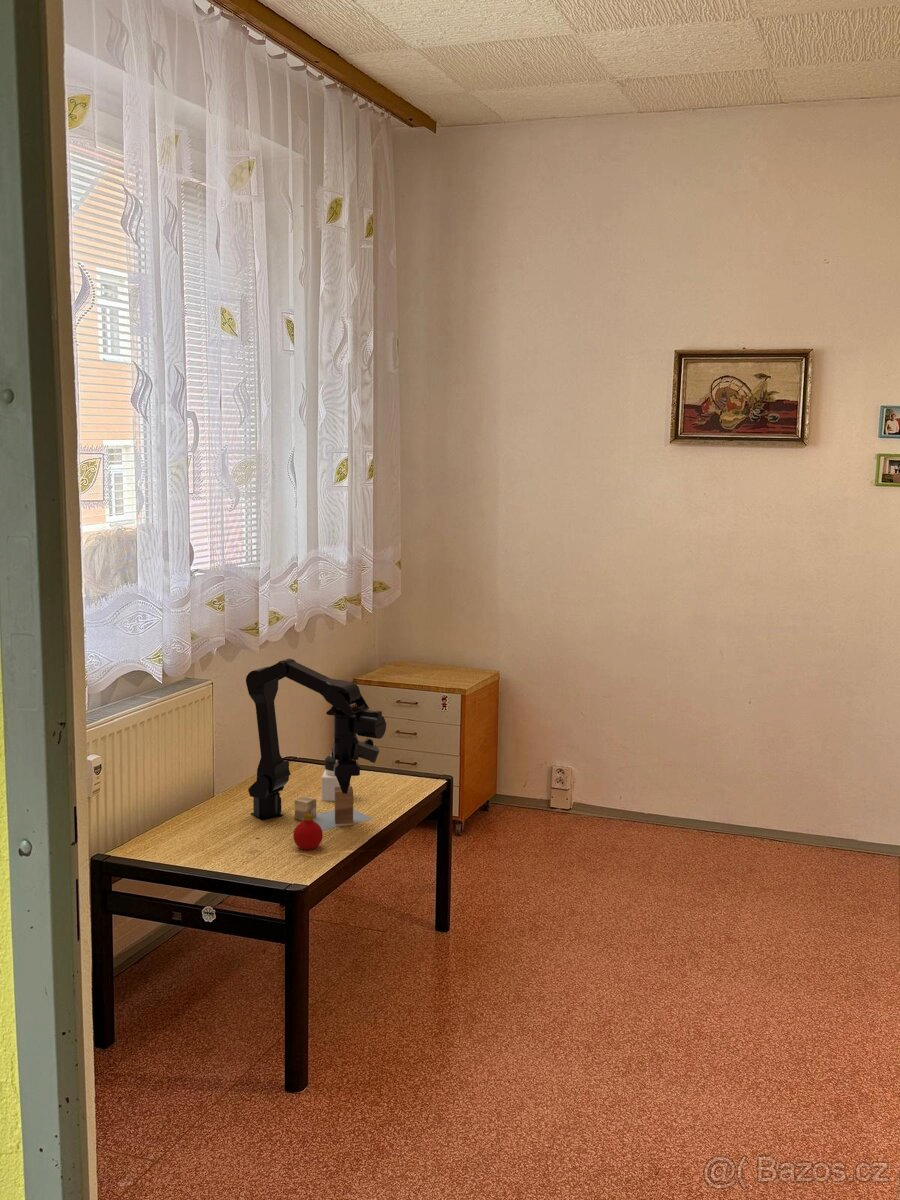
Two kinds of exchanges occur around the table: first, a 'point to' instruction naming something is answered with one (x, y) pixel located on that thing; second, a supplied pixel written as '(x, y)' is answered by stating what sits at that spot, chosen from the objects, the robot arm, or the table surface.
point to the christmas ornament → (308, 833)
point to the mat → (328, 819)
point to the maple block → (305, 807)
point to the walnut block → (343, 807)
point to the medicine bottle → (329, 780)
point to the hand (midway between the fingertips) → (344, 793)
